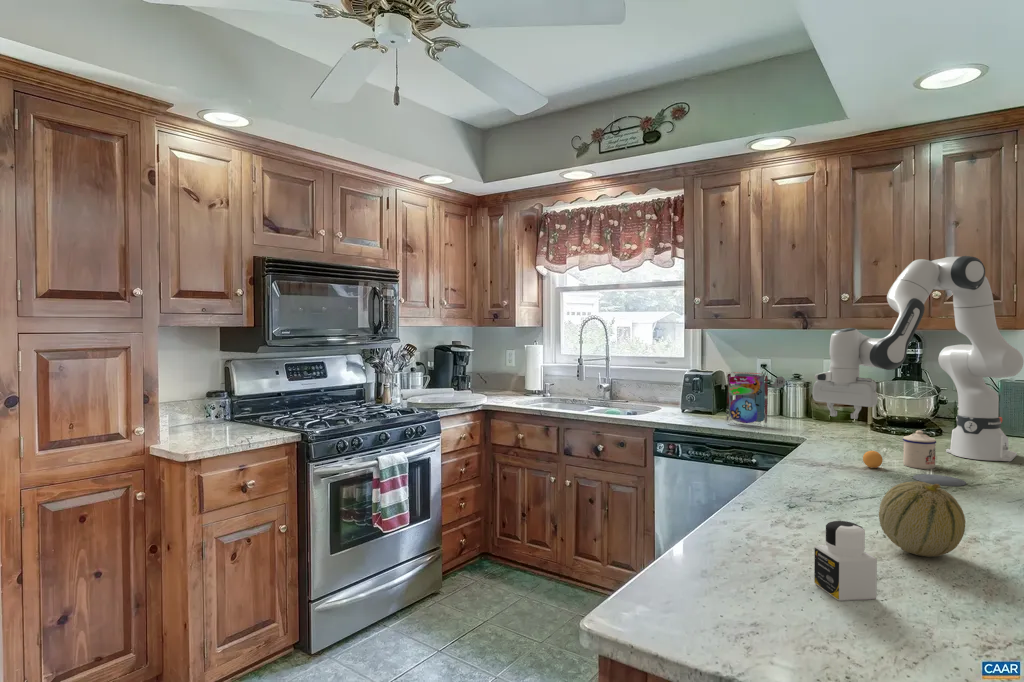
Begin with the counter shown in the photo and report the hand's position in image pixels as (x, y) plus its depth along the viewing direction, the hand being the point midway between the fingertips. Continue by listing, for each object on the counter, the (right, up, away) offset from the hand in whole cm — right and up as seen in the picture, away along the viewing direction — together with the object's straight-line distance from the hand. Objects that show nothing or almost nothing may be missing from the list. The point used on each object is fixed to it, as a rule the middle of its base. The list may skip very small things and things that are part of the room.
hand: (843, 417), depth 203 cm
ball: (+5, -13, -8) cm, 16 cm away
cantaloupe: (-28, -18, -80) cm, 87 cm away
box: (-1, -13, +70) cm, 71 cm away
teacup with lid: (+22, -15, -5) cm, 28 cm away
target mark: (+15, -16, -24) cm, 32 cm away
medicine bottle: (-53, -19, -97) cm, 112 cm away
